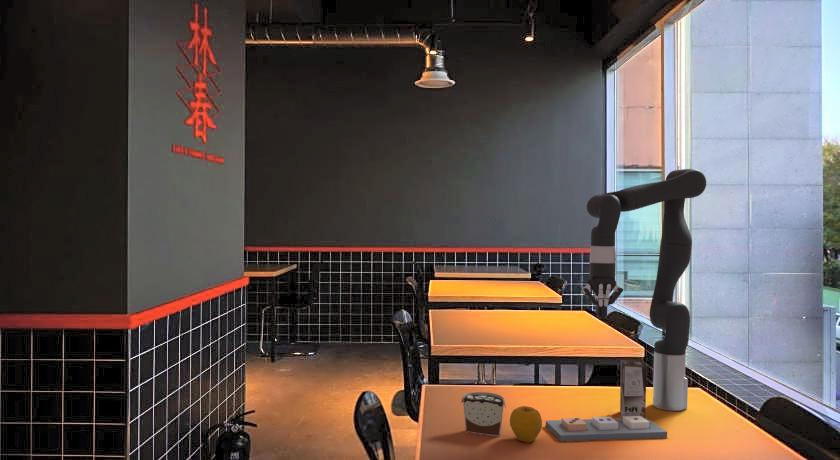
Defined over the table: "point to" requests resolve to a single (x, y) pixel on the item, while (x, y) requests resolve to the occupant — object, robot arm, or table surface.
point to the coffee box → (633, 388)
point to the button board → (605, 431)
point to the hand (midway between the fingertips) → (601, 318)
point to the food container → (483, 412)
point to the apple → (526, 423)
